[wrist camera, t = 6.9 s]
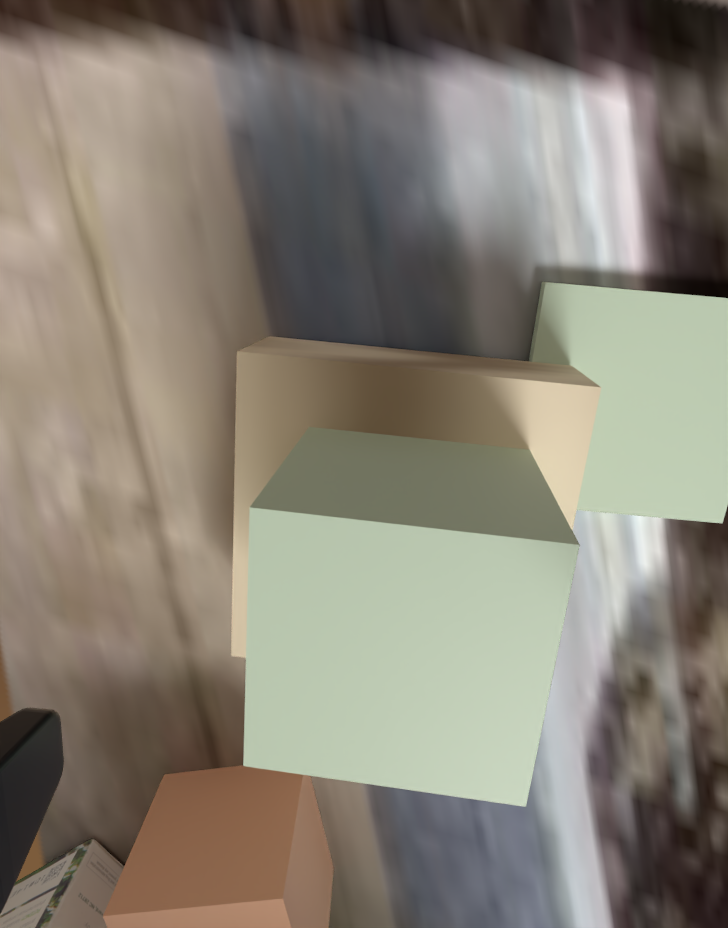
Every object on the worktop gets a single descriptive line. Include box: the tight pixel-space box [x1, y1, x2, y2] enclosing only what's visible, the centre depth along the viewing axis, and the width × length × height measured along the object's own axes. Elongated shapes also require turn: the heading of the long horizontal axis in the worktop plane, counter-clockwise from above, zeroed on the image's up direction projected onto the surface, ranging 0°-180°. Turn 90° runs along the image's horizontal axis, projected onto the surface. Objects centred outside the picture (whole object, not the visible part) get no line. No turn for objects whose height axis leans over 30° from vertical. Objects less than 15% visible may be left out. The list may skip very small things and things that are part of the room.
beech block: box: [231, 336, 601, 658], centre depth 16 cm, size 8×8×3 cm
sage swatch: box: [529, 282, 728, 523], centre depth 17 cm, size 6×6×1 cm
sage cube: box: [243, 427, 580, 807], centre depth 13 cm, size 5×5×5 cm
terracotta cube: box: [103, 765, 334, 928], centre depth 20 cm, size 5×5×5 cm
